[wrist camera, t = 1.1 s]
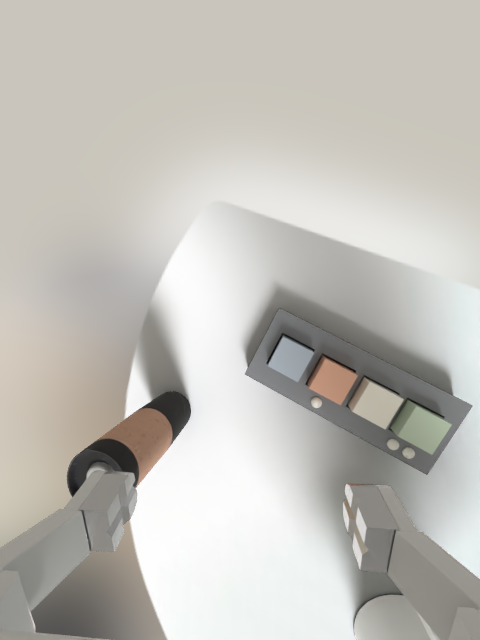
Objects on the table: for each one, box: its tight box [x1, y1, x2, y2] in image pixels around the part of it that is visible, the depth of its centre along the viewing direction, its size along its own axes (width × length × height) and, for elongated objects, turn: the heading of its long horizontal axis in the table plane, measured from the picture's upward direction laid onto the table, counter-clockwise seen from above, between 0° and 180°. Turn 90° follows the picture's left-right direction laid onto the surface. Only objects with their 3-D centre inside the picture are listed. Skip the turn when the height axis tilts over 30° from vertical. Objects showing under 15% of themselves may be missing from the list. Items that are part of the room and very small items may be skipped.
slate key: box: [268, 334, 314, 382], centre depth 39 cm, size 5×5×4 cm
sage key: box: [390, 398, 452, 455], centre depth 37 cm, size 5×5×4 cm
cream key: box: [347, 376, 404, 429], centre depth 37 cm, size 5×5×4 cm
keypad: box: [245, 308, 472, 474], centre depth 40 cm, size 30×12×4 cm, turn 64°
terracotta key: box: [307, 354, 358, 405], centre depth 38 cm, size 5×5×4 cm
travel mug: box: [67, 392, 191, 497], centre depth 37 cm, size 8×8×20 cm
